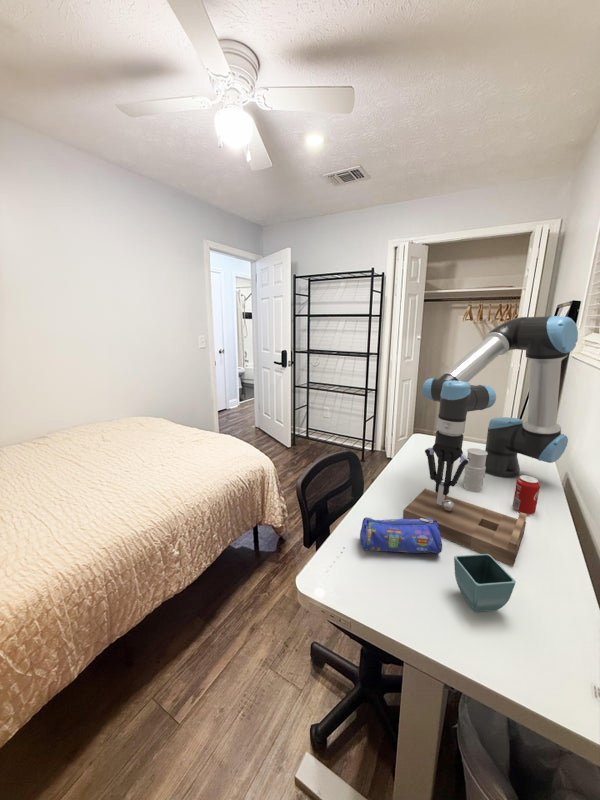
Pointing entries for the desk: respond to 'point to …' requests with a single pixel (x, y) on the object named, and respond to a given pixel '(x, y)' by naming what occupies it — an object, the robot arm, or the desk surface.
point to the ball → (448, 505)
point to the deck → (471, 525)
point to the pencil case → (401, 535)
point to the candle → (475, 469)
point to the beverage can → (526, 495)
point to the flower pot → (483, 582)
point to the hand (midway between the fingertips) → (440, 502)
